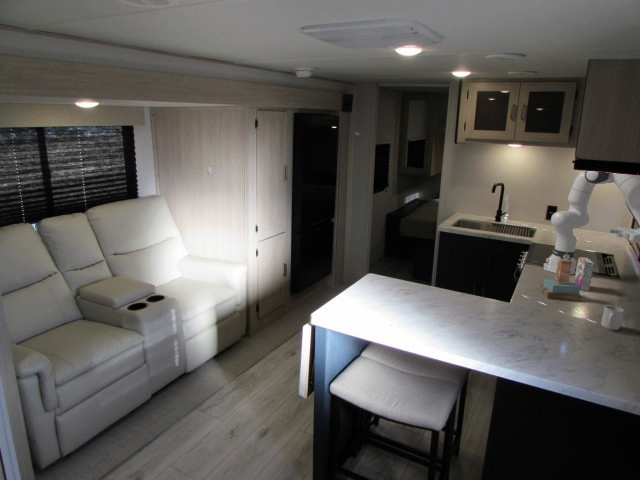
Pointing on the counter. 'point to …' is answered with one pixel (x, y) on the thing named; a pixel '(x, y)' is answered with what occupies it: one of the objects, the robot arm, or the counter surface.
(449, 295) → the counter surface
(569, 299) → the block
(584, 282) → the candy bar box
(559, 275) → the terracotta block
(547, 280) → the tower top
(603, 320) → the cup
